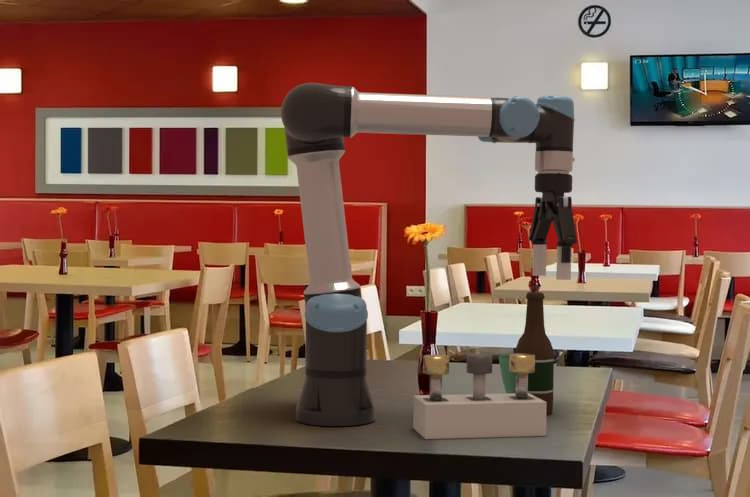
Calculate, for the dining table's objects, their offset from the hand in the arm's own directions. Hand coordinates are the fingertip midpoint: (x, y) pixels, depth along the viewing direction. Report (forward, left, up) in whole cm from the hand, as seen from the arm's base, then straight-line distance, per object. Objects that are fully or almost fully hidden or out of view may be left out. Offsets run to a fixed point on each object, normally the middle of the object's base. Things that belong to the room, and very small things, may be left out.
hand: (550, 277), depth 220 cm
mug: (-3, +6, -27) cm, 28 cm away
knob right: (-13, -22, -21) cm, 33 cm away
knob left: (-29, -22, -21) cm, 42 cm away
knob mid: (-21, -22, -21) cm, 37 cm away
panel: (-21, -22, -27) cm, 40 cm away
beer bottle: (-5, -5, -27) cm, 28 cm away
